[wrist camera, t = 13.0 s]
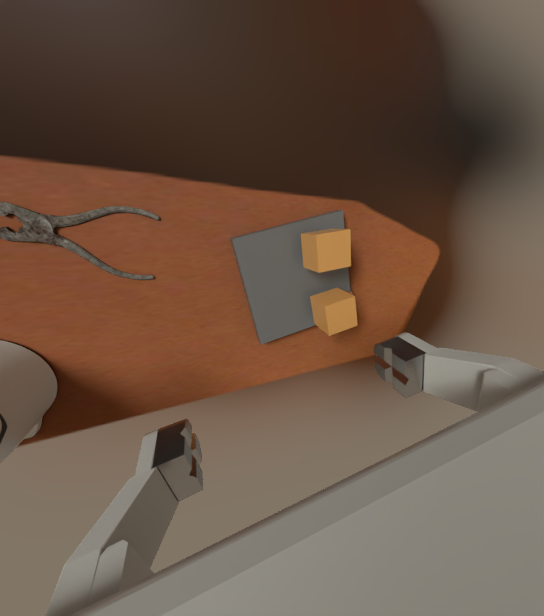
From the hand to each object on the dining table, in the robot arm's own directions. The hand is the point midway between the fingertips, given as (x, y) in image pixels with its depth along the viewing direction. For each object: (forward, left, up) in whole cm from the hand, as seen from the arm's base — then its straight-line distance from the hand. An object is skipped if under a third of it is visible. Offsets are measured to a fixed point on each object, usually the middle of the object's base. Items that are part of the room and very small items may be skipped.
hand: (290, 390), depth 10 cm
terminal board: (+12, -6, -31) cm, 34 cm away
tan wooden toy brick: (+15, -1, -27) cm, 31 cm away
